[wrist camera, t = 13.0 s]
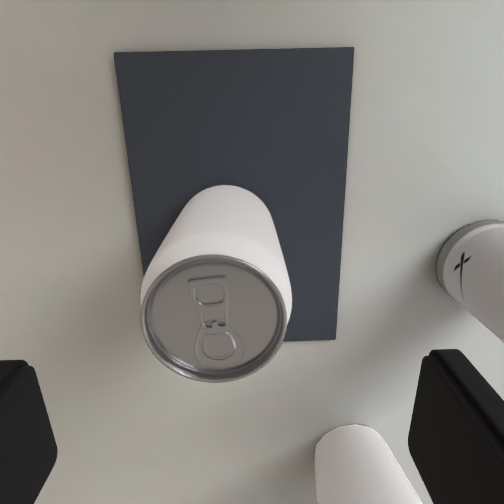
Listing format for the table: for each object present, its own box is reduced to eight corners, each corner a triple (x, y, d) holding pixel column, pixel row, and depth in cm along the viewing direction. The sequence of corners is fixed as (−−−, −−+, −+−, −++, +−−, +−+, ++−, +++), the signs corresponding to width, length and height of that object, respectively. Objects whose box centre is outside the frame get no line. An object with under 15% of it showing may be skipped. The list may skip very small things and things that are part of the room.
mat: (115, 53, 22) (113, 52, 22) (352, 48, 22) (354, 46, 22) (154, 343, 29) (153, 346, 29) (334, 336, 29) (335, 340, 29)
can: (187, 279, 27) (148, 400, 16) (170, 189, 24) (109, 255, 13) (277, 268, 27) (304, 382, 15) (268, 177, 24) (291, 233, 13)
